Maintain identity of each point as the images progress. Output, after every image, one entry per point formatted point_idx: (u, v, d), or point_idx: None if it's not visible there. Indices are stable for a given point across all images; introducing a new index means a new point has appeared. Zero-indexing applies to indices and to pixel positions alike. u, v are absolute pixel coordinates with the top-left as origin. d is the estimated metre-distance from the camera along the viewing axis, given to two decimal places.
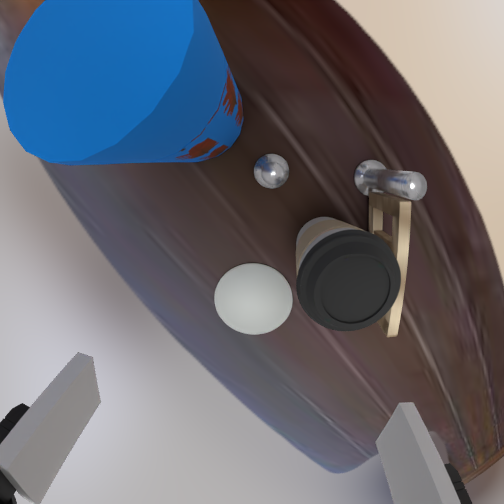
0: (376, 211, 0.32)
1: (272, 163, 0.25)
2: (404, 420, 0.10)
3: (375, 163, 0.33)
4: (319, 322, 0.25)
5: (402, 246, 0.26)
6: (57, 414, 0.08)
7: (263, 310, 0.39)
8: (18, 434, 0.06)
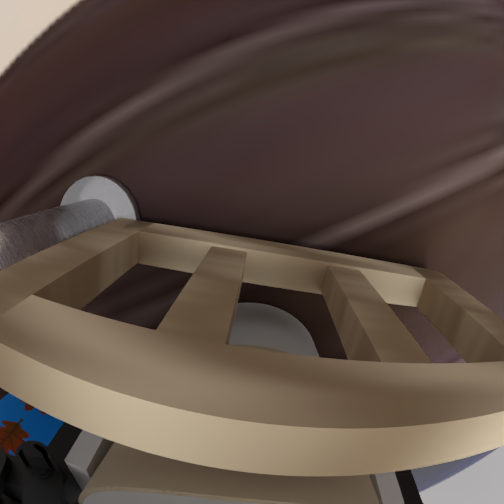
0: (150, 256, 0.11)
1: None
2: None
3: None
4: None
5: (113, 423, 0.03)
6: None
7: None
8: (91, 433, 0.07)
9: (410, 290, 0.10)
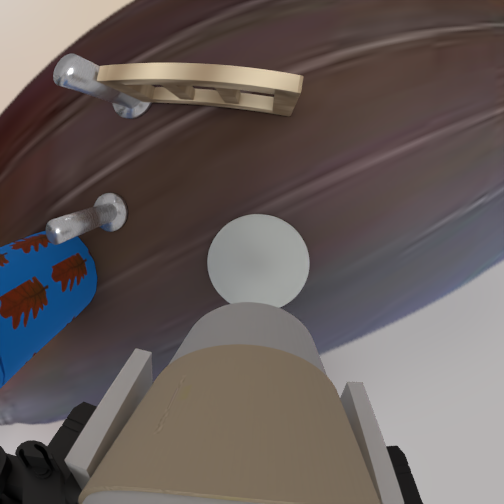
0: (158, 96, 0.24)
1: (47, 230, 0.20)
2: (350, 398, 0.11)
3: None
4: None
5: (150, 72, 0.16)
6: (125, 409, 0.09)
7: (273, 256, 0.29)
8: (91, 433, 0.07)
9: (267, 102, 0.23)
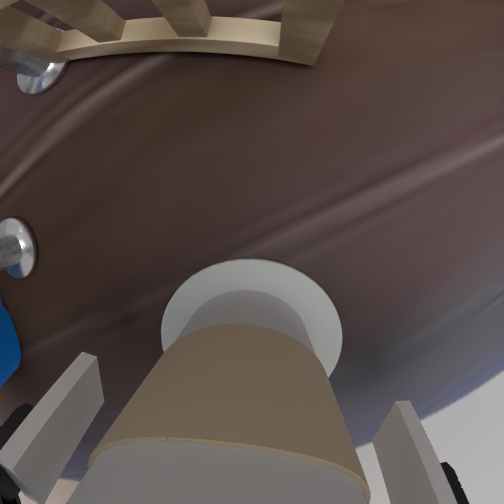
0: (64, 45, 0.10)
1: None
2: (400, 418, 0.10)
3: None
4: None
5: None
6: (62, 413, 0.08)
7: None
8: (23, 434, 0.06)
9: (267, 31, 0.10)
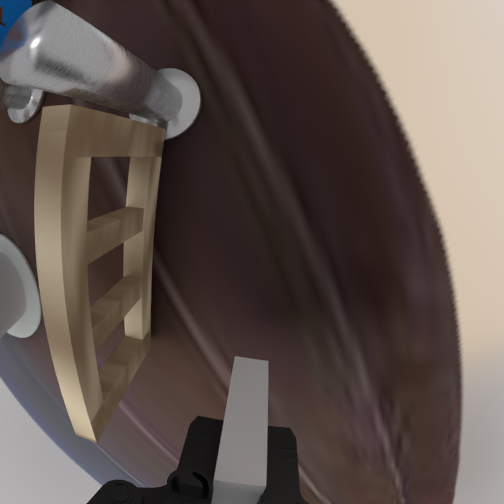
0: (135, 165, 0.14)
1: None
2: (249, 374, 0.12)
3: (175, 74, 0.15)
4: None
5: (45, 240, 0.08)
6: None
7: None
8: (230, 445, 0.08)
9: (133, 330, 0.17)
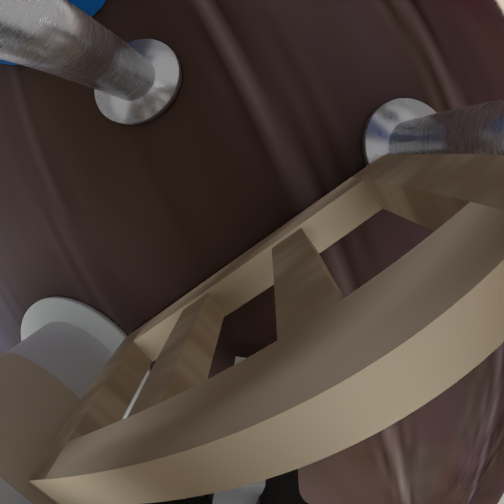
0: (358, 195, 0.10)
1: None
2: None
3: (426, 112, 0.10)
4: None
5: (394, 384, 0.03)
6: None
7: None
8: None
9: (151, 346, 0.12)
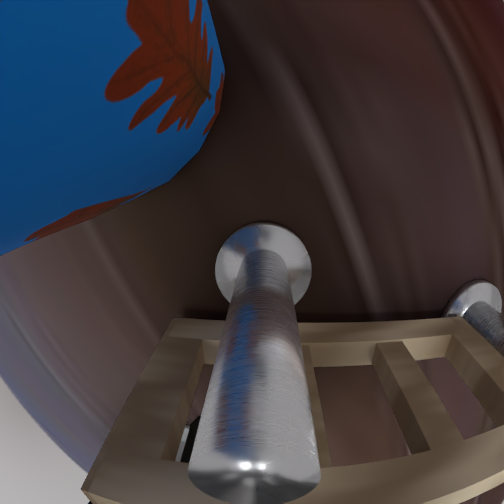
0: (441, 341, 0.11)
1: (263, 452, 0.03)
2: None
3: (491, 291, 0.12)
4: None
5: (480, 486, 0.04)
6: None
7: None
8: None
9: (216, 353, 0.11)
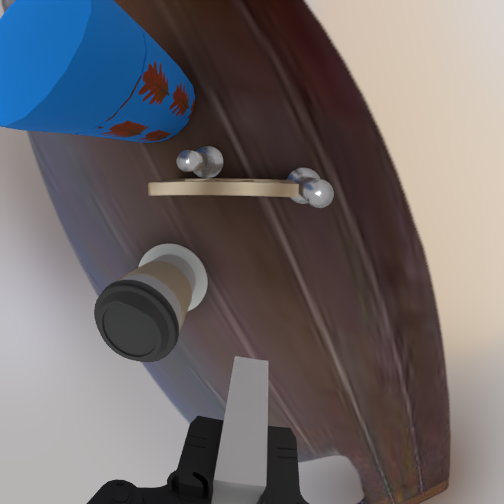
0: (273, 182, 0.34)
1: (188, 151, 0.26)
2: (249, 374, 0.12)
3: (309, 172, 0.35)
4: None
5: (251, 187, 0.27)
6: None
7: None
8: (230, 445, 0.08)
9: None
